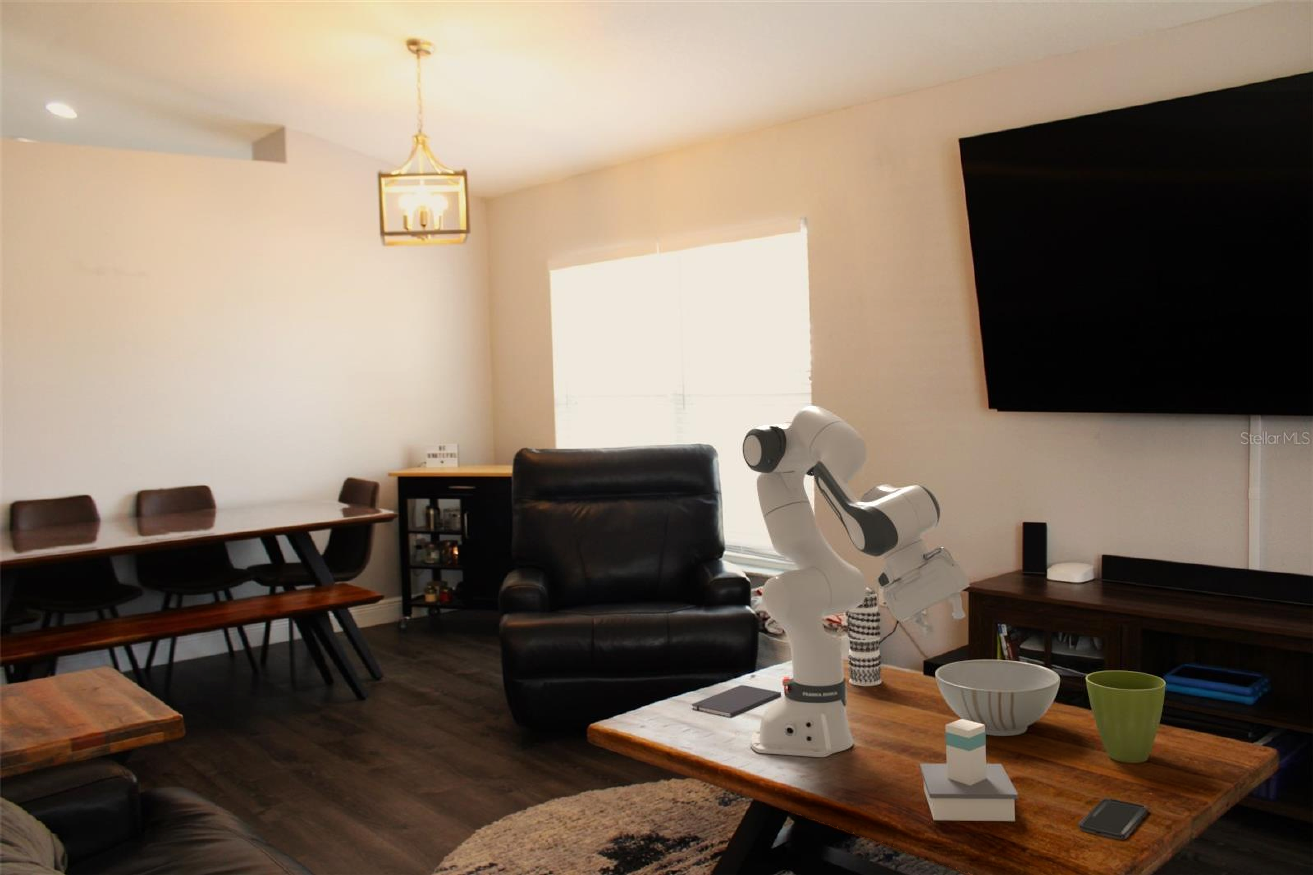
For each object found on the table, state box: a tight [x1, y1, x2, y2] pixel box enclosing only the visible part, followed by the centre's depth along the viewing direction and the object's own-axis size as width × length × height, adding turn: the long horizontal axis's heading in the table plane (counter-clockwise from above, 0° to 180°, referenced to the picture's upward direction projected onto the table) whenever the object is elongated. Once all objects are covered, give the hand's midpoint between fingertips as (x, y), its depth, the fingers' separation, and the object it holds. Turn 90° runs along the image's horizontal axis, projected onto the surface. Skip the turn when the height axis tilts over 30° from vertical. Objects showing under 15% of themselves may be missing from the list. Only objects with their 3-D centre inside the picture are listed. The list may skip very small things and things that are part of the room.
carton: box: [944, 718, 987, 785], centre depth 190 cm, size 5×5×10 cm
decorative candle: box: [845, 586, 883, 687], centre depth 274 cm, size 9×9×25 cm
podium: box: [919, 763, 1019, 822], centre depth 190 cm, size 15×15×5 cm
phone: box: [1078, 798, 1149, 840], centre depth 181 cm, size 8×1×15 cm
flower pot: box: [1085, 670, 1167, 764], centre depth 211 cm, size 15×15×16 cm
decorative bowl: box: [934, 659, 1061, 737], centre depth 233 cm, size 27×27×12 cm
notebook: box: [691, 684, 782, 718], centre depth 261 cm, size 13×2×21 cm
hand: (945, 626), depth 201 cm, fingers open, 8 cm apart
